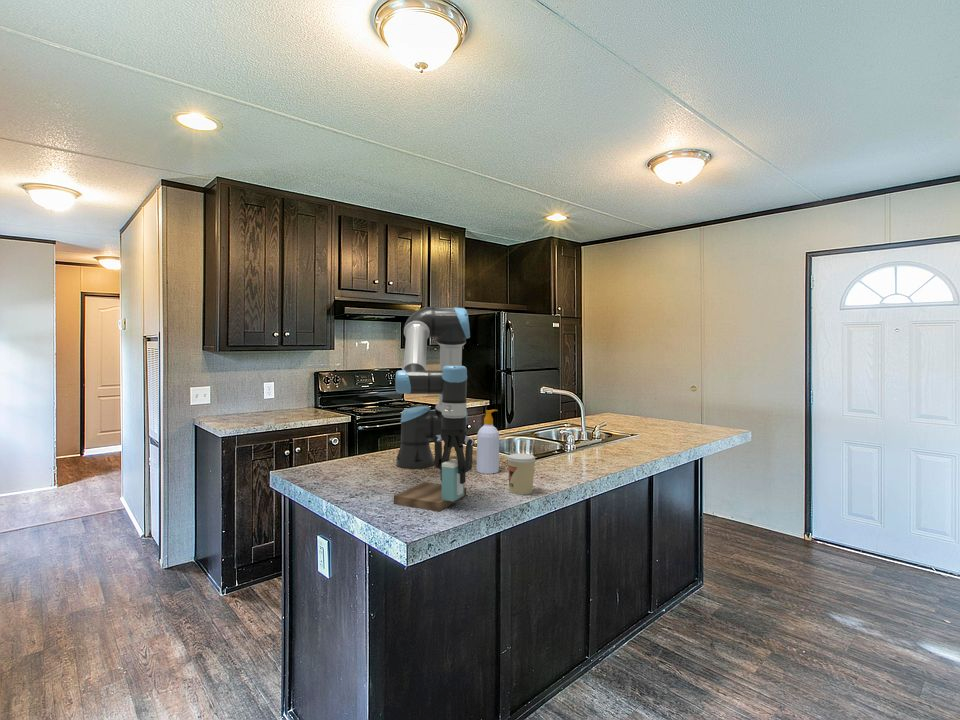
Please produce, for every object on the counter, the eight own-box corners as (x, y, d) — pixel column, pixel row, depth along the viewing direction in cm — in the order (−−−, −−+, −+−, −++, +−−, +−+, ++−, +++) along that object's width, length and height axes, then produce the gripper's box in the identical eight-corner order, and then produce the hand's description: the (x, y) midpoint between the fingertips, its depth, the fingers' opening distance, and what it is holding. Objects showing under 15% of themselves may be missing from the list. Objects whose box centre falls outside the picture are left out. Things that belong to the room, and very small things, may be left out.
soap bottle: (504, 471, 202) (505, 410, 201) (488, 475, 195) (489, 412, 194) (488, 467, 208) (489, 408, 207) (471, 471, 201) (472, 410, 200)
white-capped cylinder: (505, 487, 178) (505, 453, 178) (531, 487, 179) (532, 453, 179) (508, 495, 169) (509, 459, 169) (537, 495, 170) (537, 459, 170)
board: (393, 503, 159) (393, 495, 159) (424, 489, 175) (424, 481, 175) (438, 511, 152) (439, 503, 152) (466, 495, 168) (466, 488, 168)
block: (441, 499, 155) (441, 463, 155) (452, 493, 162) (452, 458, 161) (453, 501, 154) (453, 464, 153) (463, 495, 160) (464, 460, 160)
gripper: (423, 415, 157) (422, 492, 158) (473, 419, 150) (472, 499, 151) (435, 413, 164) (434, 486, 165) (484, 416, 157) (483, 493, 157)
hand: (452, 492), depth 158 cm, fingers closed on block, 4 cm apart
